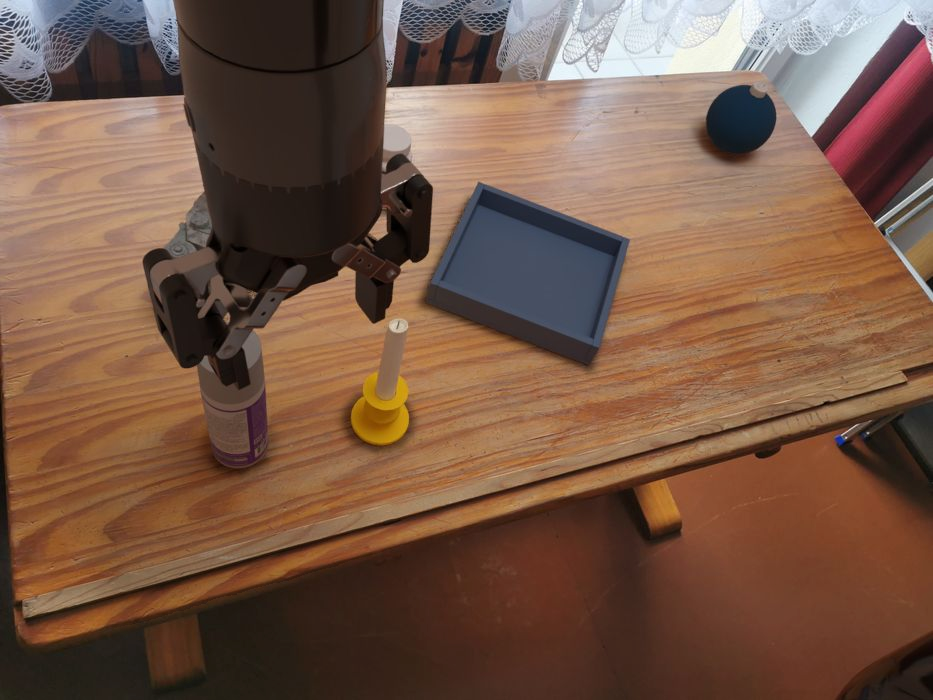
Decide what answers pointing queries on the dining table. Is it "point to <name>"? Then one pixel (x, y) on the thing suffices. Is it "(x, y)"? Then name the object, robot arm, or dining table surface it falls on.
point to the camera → (193, 235)
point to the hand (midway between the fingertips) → (306, 342)
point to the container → (236, 411)
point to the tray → (530, 273)
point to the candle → (384, 394)
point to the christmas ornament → (741, 118)
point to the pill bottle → (395, 145)
